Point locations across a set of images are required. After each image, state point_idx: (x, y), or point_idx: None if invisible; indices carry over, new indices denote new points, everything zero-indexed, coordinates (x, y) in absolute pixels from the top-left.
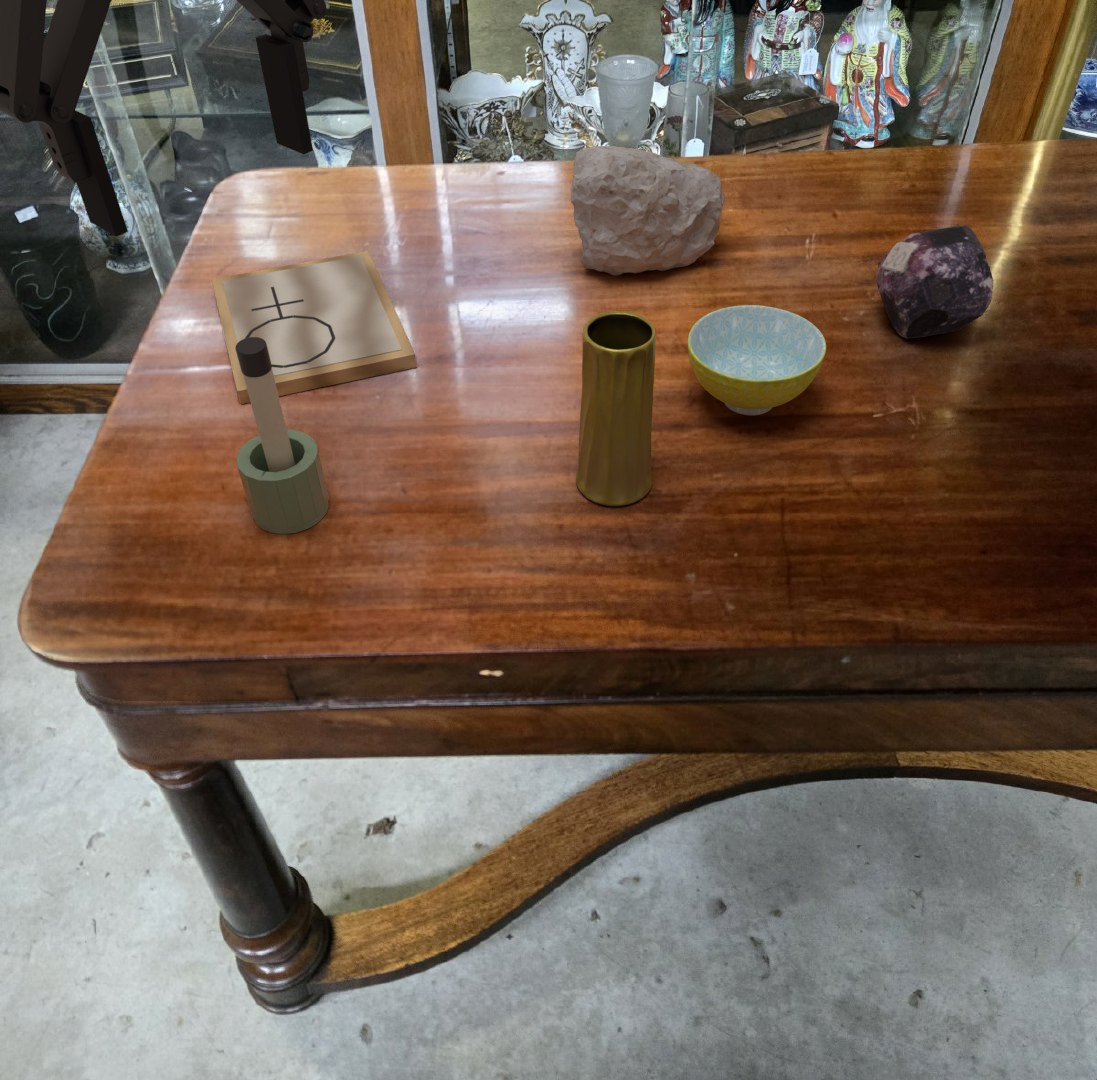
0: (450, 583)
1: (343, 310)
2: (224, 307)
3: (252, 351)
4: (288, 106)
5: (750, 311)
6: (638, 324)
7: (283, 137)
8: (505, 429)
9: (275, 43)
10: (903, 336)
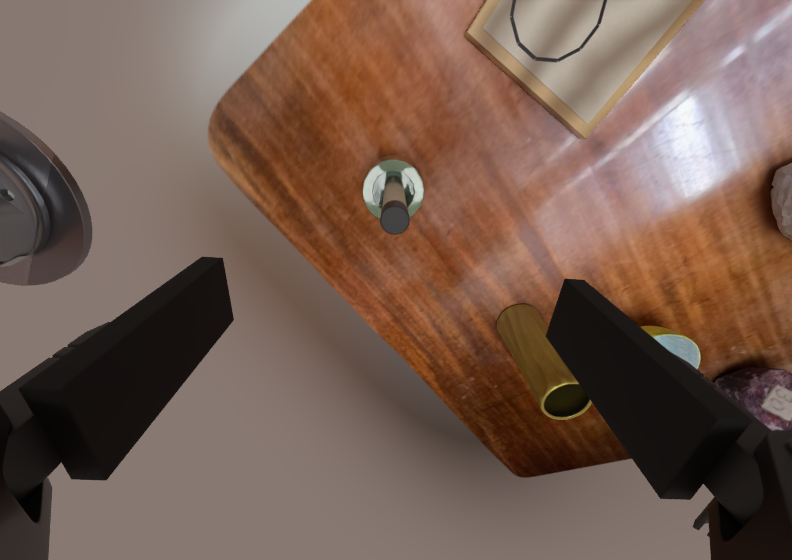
0: (402, 301)
1: (631, 12)
2: None
3: (388, 230)
4: (587, 371)
5: (693, 349)
6: (586, 397)
7: (564, 306)
8: (535, 245)
9: (680, 474)
10: (715, 381)
